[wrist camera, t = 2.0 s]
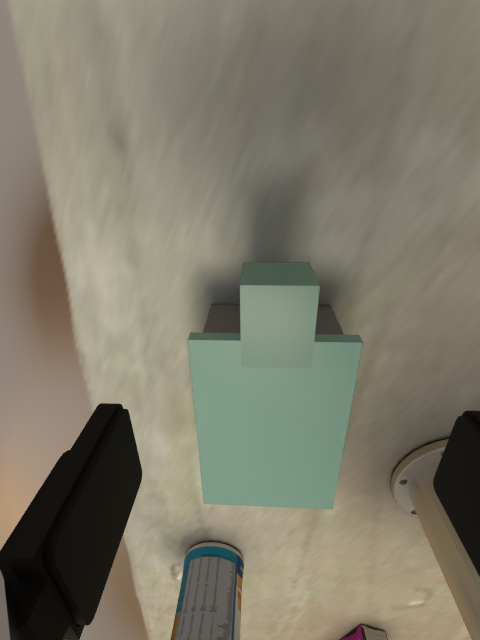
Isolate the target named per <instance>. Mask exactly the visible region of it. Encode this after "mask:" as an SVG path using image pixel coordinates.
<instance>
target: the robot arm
mask: <svg viewBox="0 0 480 640" xmlns="http://www.w3.org/2000/svg"><path fill="white" fill-rule="evenodd" d="M141 479H142V468H141V464H140V460H139V455H138V451H137V446H136V442H135V437H134V433H133V429H132V424H131V420H130V415H129V412H128V410H127V409H123V406H122V405H121V404H103V403H101V404H99V405H98V406H97V408H96V409H95V411H94V413H93V414H92V416H91V417H90V419H89V421H88V422H87V424H86V425H85V427H84V429H83V430H82V432H81V433H80V435H79V437H78V439H77V440H76V442H75V443H74V445H73V446H72V448H71V450H69V451H66V452H65V453H63V455H62V456H61V457H60V458H59V460H58V461H57V463H56V465H55V467H54V468H53V469H52V471H51V473H50V474H49V476H48V477H47V479H46V480H45V482H44V483H43V485H42V487H41V488H40V490H39V491H38V493H37V494H36V496H35V498H34V499H33V501H32V502H31V504H30V505H29V507H28V508H27V510H26V512H25V513H24V515H23V516H22V518H21V520H20V521H19V522H18V524H17V526H16V527H15V529H14V530H13V532H12V534H11V535H10V537H9V538H8V540H7V541H6V543H5V544H4V546H3V548H2V549H1V551H0V640H79V639H80V636H81V634H82V631H83V628H84V625H89V624H90V623H91V622H92V620H93V618H94V616H95V613H96V610H97V608H98V605H99V602H100V599H101V596H102V593H103V590H104V587H105V584H106V582H107V579H108V576H109V573H110V570H111V567H112V564H113V561H114V559H115V555H116V553H117V550H118V547H119V544H120V541H121V538H122V536H123V533H124V530H125V527H126V524H127V521H128V518H129V515H130V512H131V510H132V507H133V504H134V501H135V498H136V495H137V492H138V489H139V486H140V483H141ZM391 490H392V494H393V496H394V498H395V501H396V503H397V504H398V506H399V507H400V508H401V509H402V510H403V511H405V512H406V513H407V514H409V515H411V516H413V517H415V518H418V519H419V520H420V523H421V525H422V527H423V529H424V532H425V534H426V536H427V538H428V541H429V543H430V545H431V548H432V550H433V552H434V554H435V557H436V559H437V561H438V564H439V566H440V568H441V570H442V573H443V575H444V577H445V580H446V582H447V584H448V586H449V589H450V591H451V593H452V595H453V598H454V600H455V602H456V605H457V607H458V609H459V611H460V614H461V616H462V618H463V621H464V623H465V625H466V627H467V630H468V632H469V634H470V637H471V639H472V640H480V411H465V412H464V413H463V415H462V416H459V417H458V418H457V420H456V422H455V425H454V427H453V430H452V432H451V435H450V437H449V439H446V440H442V441H437V442H434V443H431V444H429V445H426V446H424V447H422V448H420V449H418V450H416V451H414V452H413V453H411V454H410V455H409V456H407V457H406V458H405V459H404V460H403V461H402V462H401V463H400V464H399V465H398V467H397V468H396V470H395V471H394V473H393V476H392V479H391Z"/></svg>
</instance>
